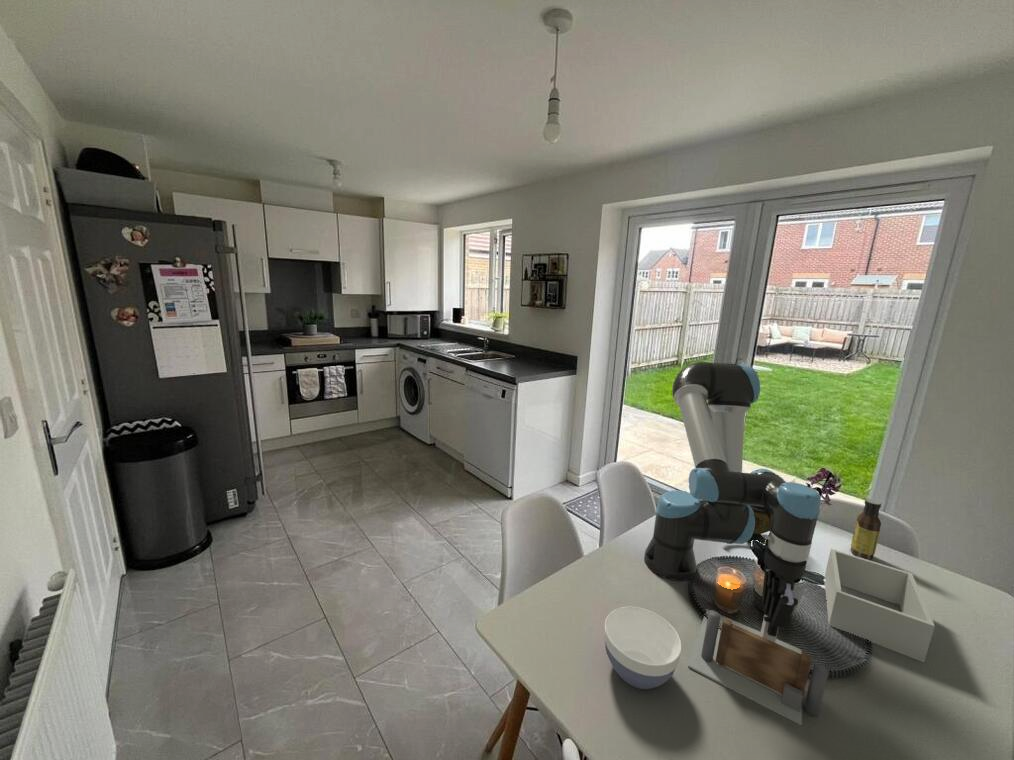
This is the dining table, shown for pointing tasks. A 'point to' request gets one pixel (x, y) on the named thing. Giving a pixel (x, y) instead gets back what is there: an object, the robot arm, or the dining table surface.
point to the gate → (761, 658)
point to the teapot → (760, 523)
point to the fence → (748, 687)
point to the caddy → (872, 620)
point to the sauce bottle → (866, 531)
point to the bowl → (641, 646)
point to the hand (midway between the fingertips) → (766, 642)
